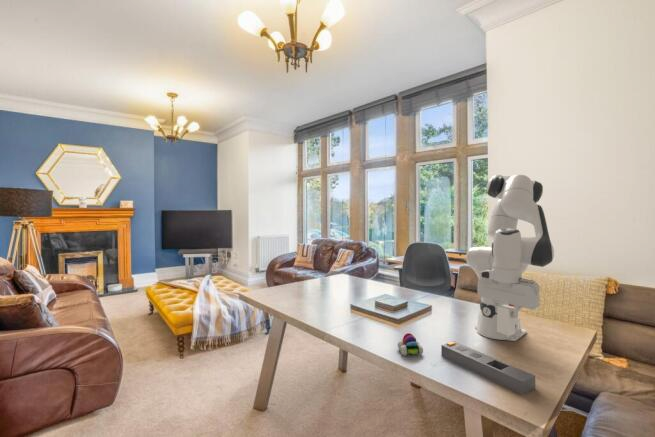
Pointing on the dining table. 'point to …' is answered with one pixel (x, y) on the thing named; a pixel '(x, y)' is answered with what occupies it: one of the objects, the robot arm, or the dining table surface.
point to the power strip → (489, 367)
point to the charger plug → (505, 320)
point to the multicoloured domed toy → (409, 345)
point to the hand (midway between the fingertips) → (506, 315)
